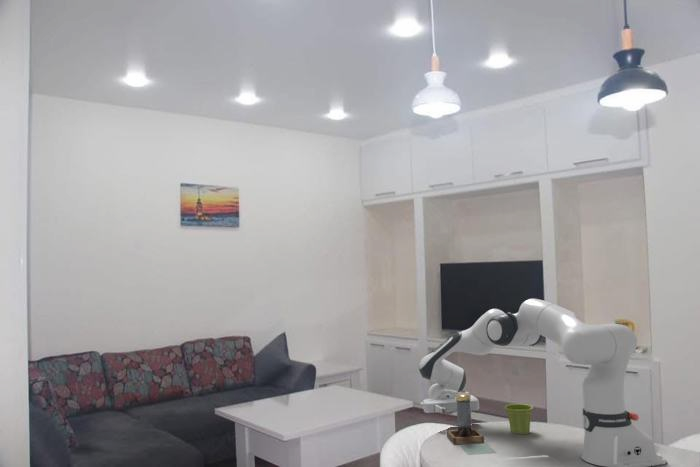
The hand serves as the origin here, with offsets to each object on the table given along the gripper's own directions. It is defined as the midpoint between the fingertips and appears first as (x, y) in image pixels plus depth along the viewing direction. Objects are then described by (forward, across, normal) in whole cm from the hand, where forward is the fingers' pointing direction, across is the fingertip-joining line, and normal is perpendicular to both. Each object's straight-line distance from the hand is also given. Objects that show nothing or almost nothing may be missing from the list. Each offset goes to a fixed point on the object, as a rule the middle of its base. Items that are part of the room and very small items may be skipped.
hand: (455, 409), depth 203 cm
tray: (+11, 0, +8) cm, 13 cm away
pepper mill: (+11, 0, +7) cm, 13 cm away
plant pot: (+5, +21, +8) cm, 23 cm away
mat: (+22, +1, +8) cm, 23 cm away
